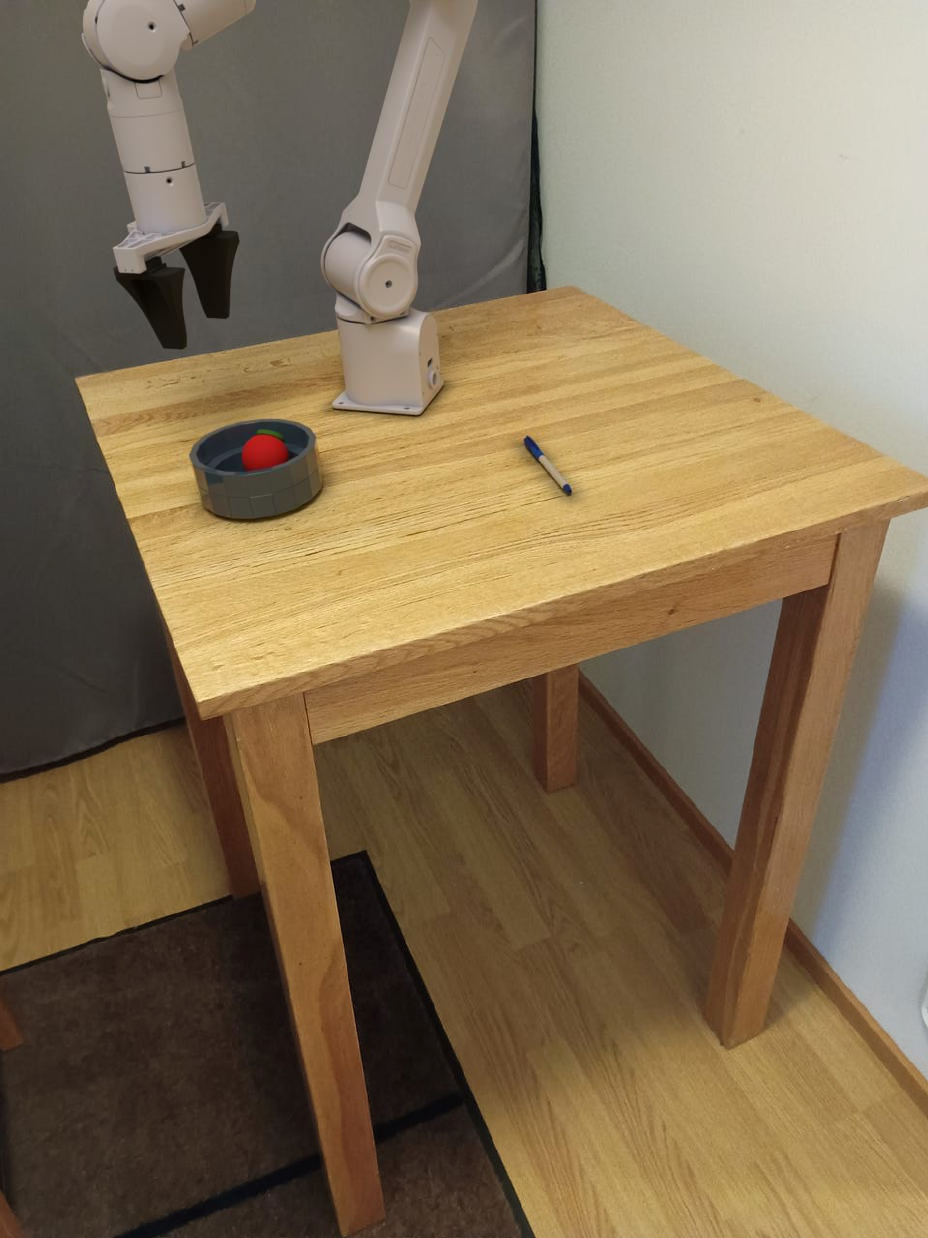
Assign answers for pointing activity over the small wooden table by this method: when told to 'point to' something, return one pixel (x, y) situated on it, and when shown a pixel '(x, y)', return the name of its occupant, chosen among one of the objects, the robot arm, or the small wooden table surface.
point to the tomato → (264, 451)
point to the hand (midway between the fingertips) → (197, 331)
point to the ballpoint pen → (546, 463)
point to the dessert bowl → (259, 490)
